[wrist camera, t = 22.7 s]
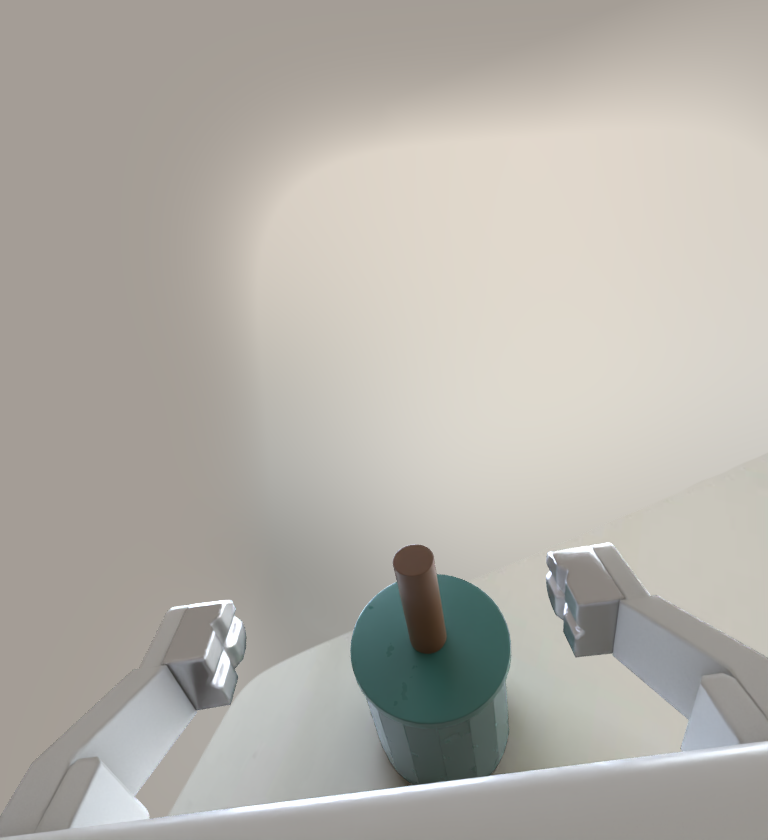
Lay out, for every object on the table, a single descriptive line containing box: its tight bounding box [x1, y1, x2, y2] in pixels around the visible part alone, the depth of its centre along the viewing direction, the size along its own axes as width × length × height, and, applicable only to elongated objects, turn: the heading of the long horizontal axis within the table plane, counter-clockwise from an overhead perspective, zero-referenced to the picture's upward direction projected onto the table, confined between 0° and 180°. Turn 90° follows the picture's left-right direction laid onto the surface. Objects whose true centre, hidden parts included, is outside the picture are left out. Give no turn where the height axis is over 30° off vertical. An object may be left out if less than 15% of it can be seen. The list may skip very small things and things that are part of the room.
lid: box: [350, 544, 511, 729], centre depth 28 cm, size 11×11×9 cm
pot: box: [366, 680, 509, 785], centre depth 32 cm, size 10×10×10 cm
